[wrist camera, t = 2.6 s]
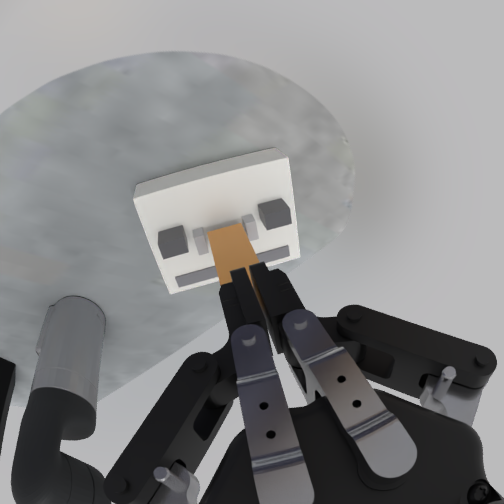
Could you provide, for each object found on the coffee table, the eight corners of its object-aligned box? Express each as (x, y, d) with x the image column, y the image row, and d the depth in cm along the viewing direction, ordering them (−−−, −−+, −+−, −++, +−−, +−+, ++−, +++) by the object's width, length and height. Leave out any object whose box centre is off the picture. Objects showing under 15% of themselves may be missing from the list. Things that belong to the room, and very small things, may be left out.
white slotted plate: (169, 272, 45) (171, 309, 39) (136, 184, 37) (130, 209, 31) (288, 239, 47) (308, 269, 41) (275, 147, 39) (297, 164, 33)
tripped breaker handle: (210, 245, 38) (230, 319, 27) (206, 228, 37) (224, 300, 26) (243, 236, 39) (274, 306, 28) (239, 219, 37) (270, 286, 27)
